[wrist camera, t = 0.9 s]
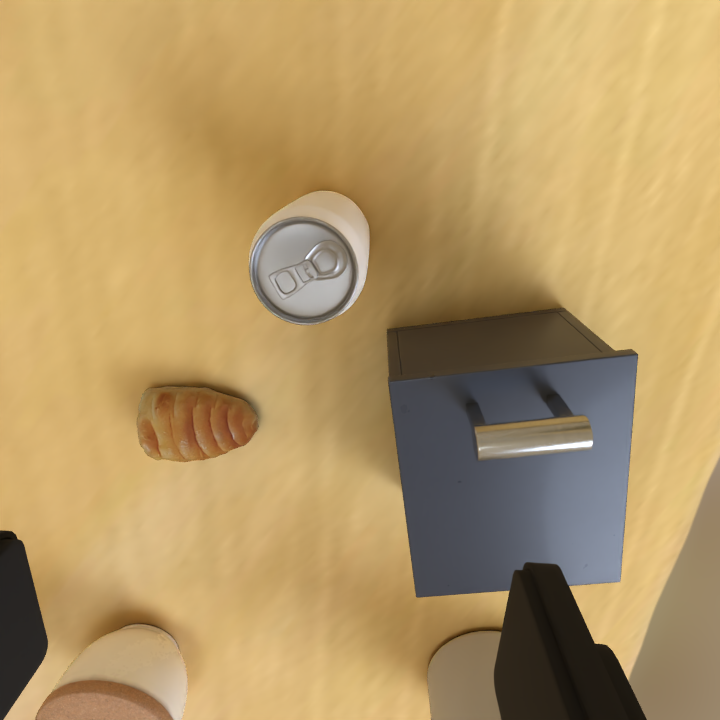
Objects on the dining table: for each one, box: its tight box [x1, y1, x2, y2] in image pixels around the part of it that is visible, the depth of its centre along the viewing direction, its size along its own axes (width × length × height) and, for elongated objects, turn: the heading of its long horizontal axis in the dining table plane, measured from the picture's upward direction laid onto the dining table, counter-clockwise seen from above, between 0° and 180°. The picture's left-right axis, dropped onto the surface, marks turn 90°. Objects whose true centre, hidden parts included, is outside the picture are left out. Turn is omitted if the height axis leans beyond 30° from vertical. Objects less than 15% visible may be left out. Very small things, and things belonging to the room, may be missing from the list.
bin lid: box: [388, 349, 638, 597], centre depth 29 cm, size 16×14×5 cm
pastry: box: [137, 386, 259, 462], centre depth 41 cm, size 9×7×4 cm
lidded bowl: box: [36, 624, 188, 720], centre depth 49 cm, size 13×13×11 cm
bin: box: [387, 308, 615, 377], centre depth 37 cm, size 16×14×11 cm
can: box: [249, 191, 370, 325], centre depth 31 cm, size 6×6×12 cm
